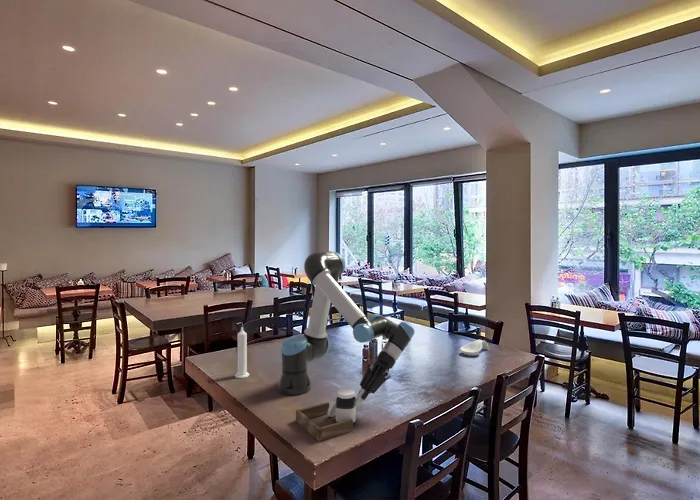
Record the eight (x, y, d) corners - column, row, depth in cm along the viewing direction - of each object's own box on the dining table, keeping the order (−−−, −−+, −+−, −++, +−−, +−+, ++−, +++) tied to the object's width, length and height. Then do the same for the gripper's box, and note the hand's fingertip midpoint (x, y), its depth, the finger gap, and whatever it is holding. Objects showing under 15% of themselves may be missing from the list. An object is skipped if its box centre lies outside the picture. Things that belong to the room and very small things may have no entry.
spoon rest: (473, 359, 231) (473, 346, 231) (456, 354, 240) (456, 342, 240) (494, 351, 247) (494, 340, 247) (477, 347, 256) (477, 336, 256)
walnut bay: (295, 420, 152) (295, 410, 152) (327, 411, 160) (327, 402, 160) (318, 441, 137) (318, 429, 136) (352, 430, 144) (352, 419, 144)
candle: (240, 379, 196) (239, 329, 195) (232, 375, 200) (232, 327, 200) (252, 375, 201) (252, 326, 200) (244, 372, 206) (244, 324, 205)
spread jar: (354, 428, 146) (354, 397, 145) (324, 426, 147) (324, 396, 147) (357, 413, 158) (357, 385, 157) (329, 412, 159) (329, 384, 158)
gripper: (404, 365, 160) (371, 416, 151) (384, 356, 171) (352, 404, 162) (394, 354, 157) (359, 406, 148) (374, 346, 167) (341, 394, 159)
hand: (355, 405), depth 155 cm, fingers closed
